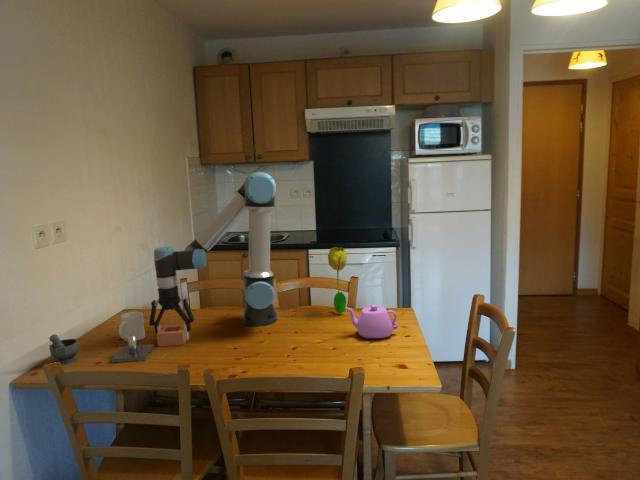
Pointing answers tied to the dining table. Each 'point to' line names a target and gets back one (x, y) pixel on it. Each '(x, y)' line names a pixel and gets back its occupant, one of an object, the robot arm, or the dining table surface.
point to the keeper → (133, 351)
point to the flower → (337, 262)
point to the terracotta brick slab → (171, 335)
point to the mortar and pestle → (63, 349)
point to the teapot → (374, 322)
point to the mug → (132, 325)
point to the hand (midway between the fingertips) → (174, 340)
